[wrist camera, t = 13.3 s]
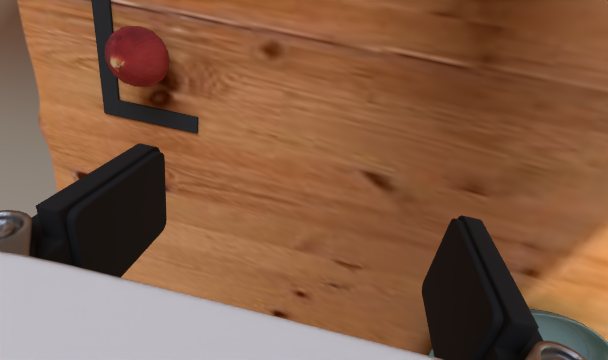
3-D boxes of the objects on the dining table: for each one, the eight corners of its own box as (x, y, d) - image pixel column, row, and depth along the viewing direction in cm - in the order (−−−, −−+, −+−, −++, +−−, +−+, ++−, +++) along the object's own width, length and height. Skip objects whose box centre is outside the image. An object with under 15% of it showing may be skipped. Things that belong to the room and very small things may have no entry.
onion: (131, 68, 40) (80, 82, 33) (135, 16, 37) (80, 19, 30) (178, 86, 40) (138, 104, 33) (186, 35, 37) (143, 42, 30)
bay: (87, -49, 35) (85, -49, 35) (200, -28, 34) (199, -28, 34) (106, 112, 43) (104, 113, 42) (198, 132, 42) (196, 133, 42)
